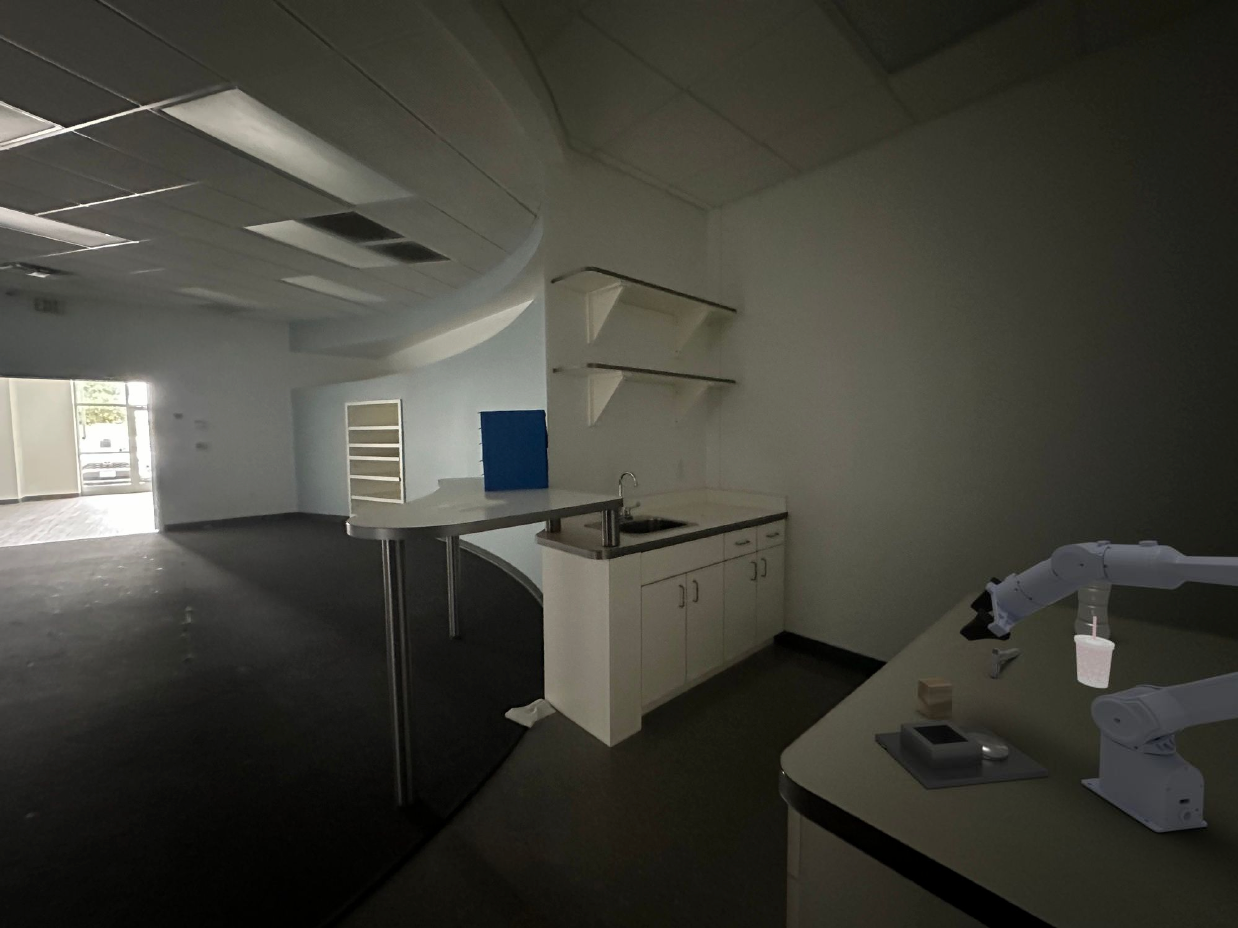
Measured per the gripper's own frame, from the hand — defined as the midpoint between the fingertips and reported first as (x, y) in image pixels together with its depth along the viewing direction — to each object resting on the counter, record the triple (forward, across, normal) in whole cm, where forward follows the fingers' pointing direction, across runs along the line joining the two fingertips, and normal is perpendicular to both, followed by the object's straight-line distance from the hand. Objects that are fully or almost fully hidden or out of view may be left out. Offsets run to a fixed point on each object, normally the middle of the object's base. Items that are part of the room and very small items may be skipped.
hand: (970, 622), depth 91 cm
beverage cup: (+11, -23, +31) cm, 40 cm away
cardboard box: (+13, +11, +6) cm, 18 cm away
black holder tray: (+5, +22, +8) cm, 24 cm away
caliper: (+20, -20, +20) cm, 35 cm away
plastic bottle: (+22, -50, +37) cm, 66 cm away
